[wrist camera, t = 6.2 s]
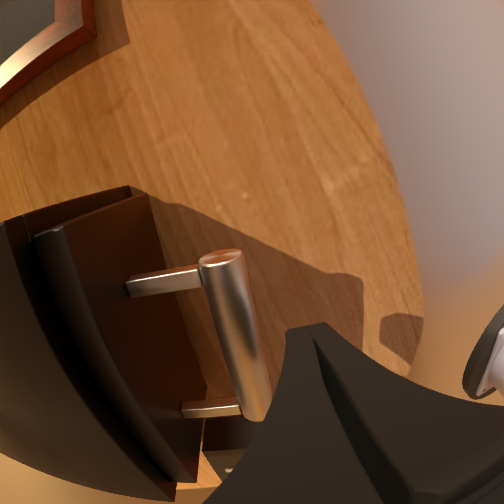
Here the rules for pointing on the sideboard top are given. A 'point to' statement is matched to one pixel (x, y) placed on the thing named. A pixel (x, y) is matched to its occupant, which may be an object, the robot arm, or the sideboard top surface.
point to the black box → (59, 376)
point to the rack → (151, 328)
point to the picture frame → (39, 37)
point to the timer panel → (227, 442)
